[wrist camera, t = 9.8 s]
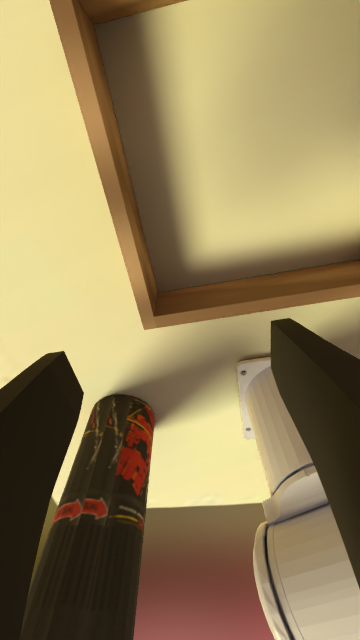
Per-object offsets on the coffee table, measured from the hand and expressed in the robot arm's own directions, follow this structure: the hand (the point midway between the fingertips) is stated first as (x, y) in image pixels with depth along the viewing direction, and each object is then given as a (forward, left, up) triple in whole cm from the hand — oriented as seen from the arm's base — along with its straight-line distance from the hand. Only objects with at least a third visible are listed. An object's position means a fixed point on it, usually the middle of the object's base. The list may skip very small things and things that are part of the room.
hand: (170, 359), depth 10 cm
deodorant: (-14, +8, -11) cm, 19 cm away
